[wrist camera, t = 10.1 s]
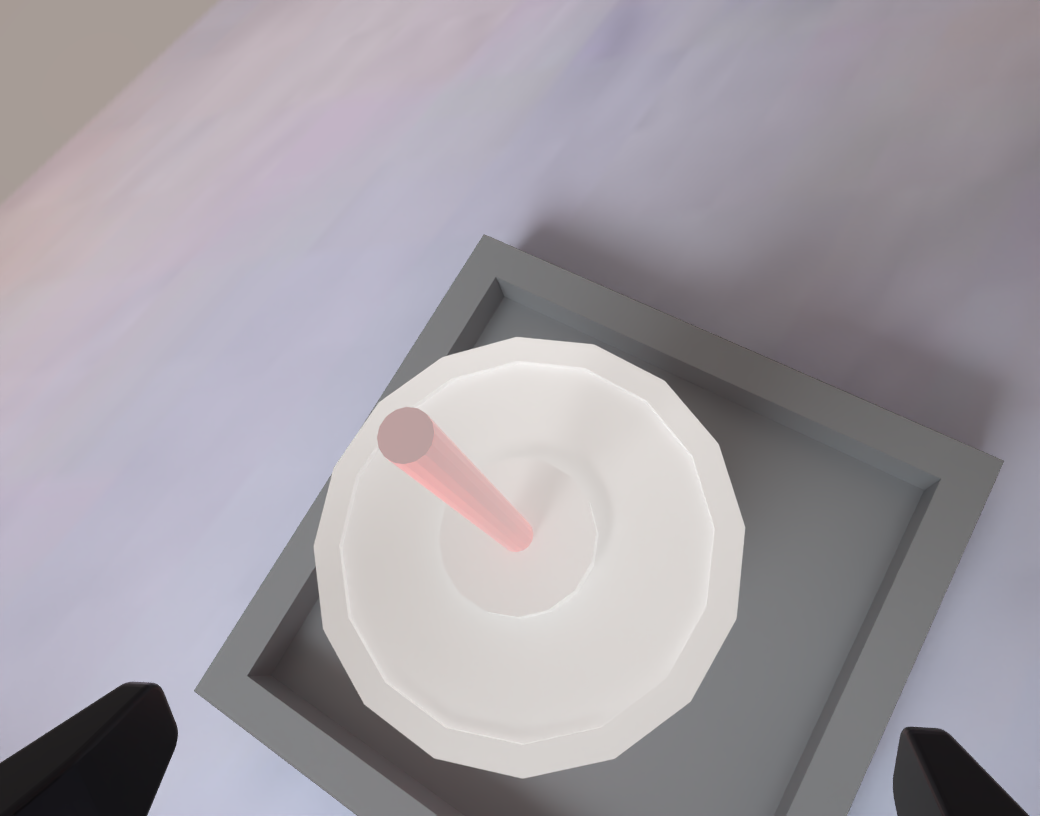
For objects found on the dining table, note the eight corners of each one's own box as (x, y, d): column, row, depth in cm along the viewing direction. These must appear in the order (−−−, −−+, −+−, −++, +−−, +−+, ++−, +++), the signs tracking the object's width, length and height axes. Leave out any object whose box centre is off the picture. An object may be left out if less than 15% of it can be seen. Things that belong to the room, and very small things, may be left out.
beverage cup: (516, 444, 21) (258, 59, 8) (742, 521, 19) (909, 195, 6) (426, 667, 19) (-80, 665, 6) (663, 772, 18) (655, 1073, 4)
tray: (971, 480, 19) (1004, 461, 17) (716, 1045, 16) (722, 1095, 15) (498, 268, 23) (483, 234, 22) (236, 689, 21) (193, 691, 19)
